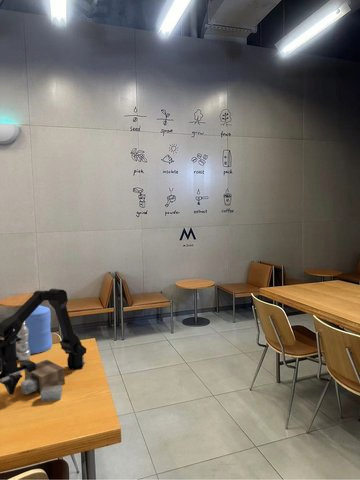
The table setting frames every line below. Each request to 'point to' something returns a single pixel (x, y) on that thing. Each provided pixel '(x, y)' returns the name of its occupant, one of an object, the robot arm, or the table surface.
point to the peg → (29, 385)
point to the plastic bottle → (23, 344)
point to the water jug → (39, 330)
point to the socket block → (47, 374)
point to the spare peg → (51, 393)
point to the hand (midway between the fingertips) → (10, 394)
